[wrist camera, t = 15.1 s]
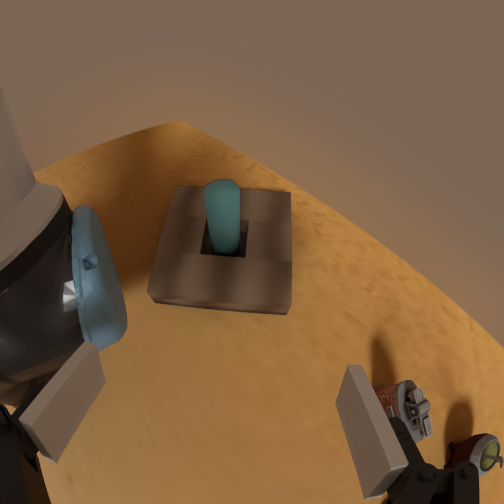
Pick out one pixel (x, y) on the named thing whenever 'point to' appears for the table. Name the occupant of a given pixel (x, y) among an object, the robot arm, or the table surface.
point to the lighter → (407, 407)
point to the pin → (223, 216)
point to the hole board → (223, 267)
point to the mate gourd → (477, 452)
